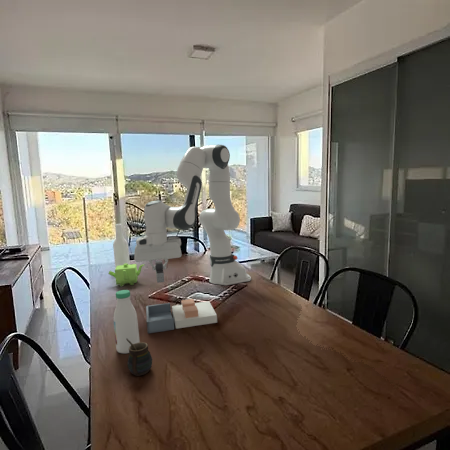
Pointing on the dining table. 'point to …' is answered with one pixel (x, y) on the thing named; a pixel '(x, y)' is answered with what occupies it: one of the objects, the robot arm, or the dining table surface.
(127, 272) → the kettle
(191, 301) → the tile back
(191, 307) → the tile front
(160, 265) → the two-tone stepped block
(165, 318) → the tray
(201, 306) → the board
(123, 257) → the alcohol
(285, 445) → the dining table surface
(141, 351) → the mate gourd
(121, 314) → the milk bottle
